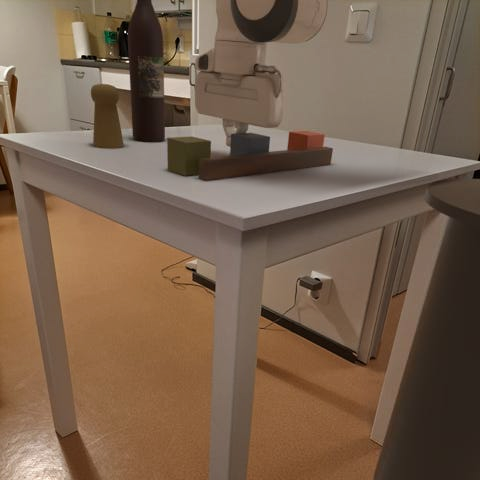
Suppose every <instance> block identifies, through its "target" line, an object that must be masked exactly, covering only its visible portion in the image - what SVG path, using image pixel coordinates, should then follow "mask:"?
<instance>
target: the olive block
mask: <svg viewBox="0 0 480 480" xmlns="http://www.w3.org/2000/svg"><path fill="white" fill-rule="evenodd" d="M166 144H167V145H166V146H167V147H166V150H167V151H166V152H167V171H170V172H172V173H175V174H179V175H180V176H181V175H182V176H185V177H188V176H199V158H207V157H212V156H211V155H212V154H211V153H212V151H211V150H212V140H208V139H204V138H200V137H196V136H193V135H192V136H191V135H190V136H176V137H175V136H174V137H167V138H166Z"/></svg>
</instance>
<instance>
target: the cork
mask: <svg viewBox="0 0 480 480" xmlns="http://www.w3.org/2000/svg"><path fill="white" fill-rule="evenodd" d="M90 97H91V100H92V102H93V103H94V110H93V111H94V112H93V113H94V114H93V138H92V144H93V145H92V146H94V147H95V148H96V147H97V148H102V149H120V148H124V147H125V143H124V137H123V132H122V127H121V122H120V118H119V117H120V116H119V111H118V105H117V104H118V102H119V101H120V100H119V99H120V94H119V90H118V89H117V87H116V86H114V85H113V84H109V83H108V84H107V83H97V84H93V85H92V87H91V88H90Z"/></svg>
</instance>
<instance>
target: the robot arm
mask: <svg viewBox="0 0 480 480" xmlns="http://www.w3.org/2000/svg"><path fill="white" fill-rule="evenodd" d="M328 3H329V2H328V0H215V13H216V17H217V26H216V32H215V36H214V45H213V48H210V49H209V50H208V51H206V52H203V53H202V54H200V55H198V56H197V57H195V69H196V71H198V73H196V77H195V82H194V83H195V84H194V107H195V110H196V112H197V113H198V114H199V115H202V116H203V115H204V116H208V117H212V118H217V119H221V120H222V128H223V131H224V134H225V137H226V138H225V145H226V147H230V145H231V134H236V133H248V130H249V125H250V126H254V127H260V128H264V129H273V128H278V127H279V126H280V125H281V124H282V122H283V112H284V111H283V110H284V93H283V81H284V80H283V78H284V77H283V75H282V73H281V71H280V70H279V69H278V67H277V66H276V65H266V55H267V44H268V43H279V44H289V45H298V44H302V43H305V42H308V41H310V40H311V39H313V38H314V37H315V36H316V35H317V34H318V33H319V32H320V31H321V29H322V28H323V25H324V23H325V21H326V17H327V14H328V7H329V6H328V5H329V4H328Z"/></svg>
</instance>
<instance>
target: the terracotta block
mask: <svg viewBox="0 0 480 480" xmlns="http://www.w3.org/2000/svg"><path fill="white" fill-rule="evenodd" d="M325 137H326V135H325V133H320V132H315V131H310V130H295V131H289V132H288V139H287V146H286V147H287V149H286V150H294V149H304V148H315V147H324V144H325V143H324V142H325Z"/></svg>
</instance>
